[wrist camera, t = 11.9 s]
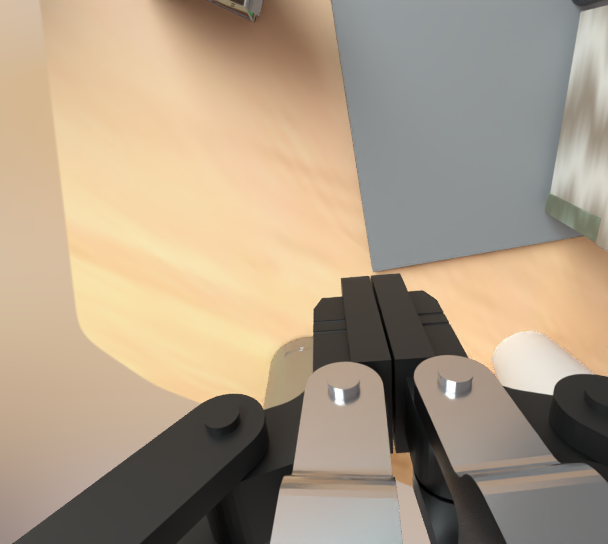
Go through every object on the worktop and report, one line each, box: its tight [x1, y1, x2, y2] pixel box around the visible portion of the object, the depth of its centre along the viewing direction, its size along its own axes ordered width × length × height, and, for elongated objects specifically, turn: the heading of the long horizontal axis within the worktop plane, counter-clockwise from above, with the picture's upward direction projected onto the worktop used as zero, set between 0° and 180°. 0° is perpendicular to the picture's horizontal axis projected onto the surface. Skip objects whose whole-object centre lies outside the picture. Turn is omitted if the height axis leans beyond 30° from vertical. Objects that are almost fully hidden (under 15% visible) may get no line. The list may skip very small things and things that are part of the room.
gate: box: [545, 5, 608, 251], centre depth 28 cm, size 14×2×9 cm, turn 5°
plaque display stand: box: [331, 0, 608, 272], centre depth 28 cm, size 22×21×11 cm
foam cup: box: [492, 331, 596, 395], centre depth 37 cm, size 10×9×13 cm
